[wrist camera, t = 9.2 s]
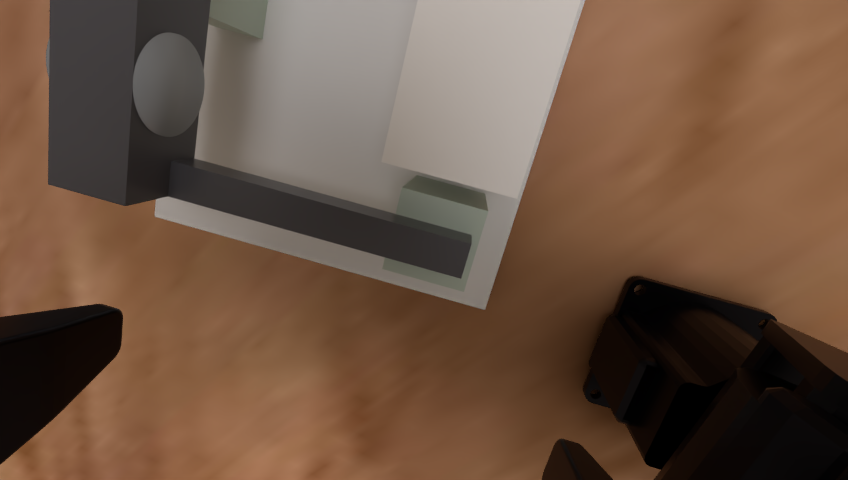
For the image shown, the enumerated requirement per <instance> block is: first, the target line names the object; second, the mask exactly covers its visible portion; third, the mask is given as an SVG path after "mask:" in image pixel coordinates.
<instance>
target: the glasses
mask: <svg viewBox="0 0 848 480" xmlns="http://www.w3.org/2000/svg"><path fill="white" fill-rule="evenodd" d="M210 3H211V0H50V38H49V41H48V45H47V50H46V66H47V72H48V76H49V151H48V184H49V185H53V186H56V187H60V188H63V189H67V190H70V191H74V192H77V193H81V194H84V195H88V196H91V197H95V198H99V199H102V200H106V201H109V202H113V203H116V204H120V205H123V206H128V205H132V204H137V203H141V202H145V201H150V200H154V199H159V198H163V197H171V198H175V199H179V200H182V201H186V202H189V203H193V204H196V205H200V206H204V207H207V208H211V209H214V210H218V211H221V212H225V213H228V214H232V215H236V216H239V217H243V218H246V219H250V220H253V221H257V222H260V223H264V224H268V225H271V226H275V227H278V228H282V229H285V230H289V231H293V232H296V233H300V234H303V235H307V236H310V237H314V238H317V239H321V240H325V241H328V242H332V243H335V244H339V245H342V246H346V247H349V248H353V249H357V250H360V251H364V252H367V253H371V254H374V255H378V256H382V257H385V258H389V259H392V260H396V261H399V262H403V263H406V264H410V265H414V266H417V267H421V268H424V269H428V270H431V271H435V272H438V273H442V274H446V275H449V276H453V277H456V278H460V279H461V278H462V275H463V271H464V268H465V264H466V261H467V258H468V254H469V251H470V248H471V244H472V235H470V234H467V233H463V232H459V231H456V230H452V229H449V228H445V227H441V226H438V225H434V224H430V223H427V222H423V221H420V220H416V219H412V218H409V217H405V216H402V215H398V214H394V213H391V212H387V211H383V210H380V209H376V208H373V207H369V206H365V205H362V204H358V203H354V202H351V201H347V200H344V199H340V198H336V197H333V196H329V195H326V194H322V193H318V192H315V191H311V190H307V189H304V188H300V187H297V186H293V185H289V184H286V183H282V182H279V181H275V180H271V179H268V178H264V177H260V176H257V175H253V174H250V173H246V172H242V171H239V170H235V169H231V168H228V167H224V166H221V165H217V164H213V163H210V162H206V161H203V160H199V159H195V158H194V157H195V148H196V138H197V128H198V119H199V111H200V108H201V105H202V101H203V96H204V87H205V79H204V61H205V51H206V42H207V32H208V22H209V13H210Z"/></svg>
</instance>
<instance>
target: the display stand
mask: <svg viewBox="0 0 848 480" xmlns="http://www.w3.org/2000/svg"><path fill="white" fill-rule="evenodd" d="M584 2H585V0H211V3H210V13H209V22H208V32H207V42H206V51H205V61H204V79H205V87H204V96H203V101H202V105H201V108H200V111H199V119H198V128H197V138H196V148H195V157H194V158H195V159H199V160H203V161H206V162H210V163H213V164H217V165H221V166H224V167H228V168H231V169H235V170H239V171H242V172H246V173H250V174H253V175H257V176H260V177H264V178H268V179H271V180H275V181H279V182H282V183H286V184H289V185H293V186H297V187H300V188H304V189H307V190H311V191H315V192H318V193H322V194H326V195H329V196H333V197H336V198H340V199H344V200H347V201H351V202H354V203H358V204H362V205H365V206H369V207H373V208H376V209H380V210H383V211H387V212H391V213H394V214H398V215H402V216H405V217H409V218H412V219H416V220H420V221H423V222H427V223H430V224H434V225H438V226H441V227H445V228H449V229H452V230H456V231H459V232H463V233H467V234H470V235H472V244H471V248H470V251H469V254H468V258H467V261H466V264H465V268H464V271H463V275H462V278H461V279H460V278H456V277H453V276H449V275H446V274H442V273H438V272H435V271H431V270H428V269H424V268H421V267H417V266H414V265H410V264H406V263H403V262H399V261H396V260H392V259H389V258H385V257H382V256H378V255H374V254H371V253H367V252H364V251H360V250H357V249H353V248H349V247H346V246H342V245H339V244H335V243H332V242H328V241H325V240H321V239H317V238H314V237H310V236H307V235H303V234H300V233H296V232H293V231H289V230H285V229H282V228H278V227H275V226H271V225H268V224H264V223H260V222H257V221H253V220H250V219H246V218H243V217H239V216H236V215H232V214H228V213H225V212H221V211H218V210H214V209H211V208H207V207H204V206H200V205H196V204H193V203H189V202H186V201H182V200H179V199H175V198H171V197H163V198H159V199H156V205H155V217H158V218H162V219H165V220H169V221H172V222H176V223H179V224H183V225H186V226H190V227H193V228H197V229H200V230H204V231H208V232H211V233H215V234H218V235H222V236H225V237H229V238H232V239H236V240H239V241H243V242H246V243H250V244H253V245H257V246H260V247H264V248H268V249H271V250H275V251H278V252H282V253H285V254H289V255H292V256H296V257H299V258H303V259H306V260H310V261H313V262H317V263H320V264H324V265H328V266H331V267H335V268H338V269H342V270H345V271H349V272H352V273H356V274H359V275H363V276H366V277H370V278H373V279H377V280H380V281H384V282H388V283H391V284H395V285H398V286H402V287H405V288H409V289H412V290H416V291H419V292H423V293H426V294H430V295H433V296H437V297H440V298H444V299H448V300H451V301H455V302H458V303H462V304H465V305H469V306H472V307H476V308H479V309H483V310H485V308H486V305H487V302H488V299H489V296H490V293H491V290H492V287H493V284H494V281H495V278H496V274H497V271H498V268H499V265H500V262H501V259H502V256H503V253H504V250H505V247H506V243H507V240H508V237H509V234H510V231H511V228H512V225H513V222H514V219H515V216H516V212H517V209H518V206H519V203H520V200H521V197H522V194H523V191H524V188H525V185H526V182H527V178H528V175H529V172H530V169H531V166H532V163H533V160H534V157H535V154H536V151H537V147H538V144H539V141H540V138H541V135H542V132H543V129H544V126H545V123H546V120H547V116H548V113H549V110H550V107H551V104H552V101H553V98H554V95H555V92H556V89H557V86H558V82H559V79H560V76H561V73H562V70H563V67H564V64H565V61H566V58H567V55H568V51H569V48H570V45H571V42H572V39H573V36H574V33H575V30H576V27H577V24H578V20H579V17H580V14H581V11H582V8H583V5H584Z"/></svg>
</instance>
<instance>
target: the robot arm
mask: <svg viewBox="0 0 848 480" xmlns="http://www.w3.org/2000/svg"><path fill="white" fill-rule="evenodd" d="M637 285H643V289H642V290H641V291H639V292H634V288H635V287H636V286H637ZM763 319H765V322H764V323H763V325H760V326H758V324H759V322H760V321H761V320H763ZM122 325H123V314H122V312H121V311H120V310H119V309H117V308H114V307H110V306H107V305H103V304H94V305H87V306H79V307H72V308H64V309H57V310H49V311H42V312H35V313H27V314H20V315H12V316H5V317H0V464H1V463H3V462H4V461H5V460H6V459H7V458H9V457H10V456H11V455H12V454H13V453H14V452H16V451H17V450H18V449H19V448H20V447H21V446H23V445H24V444H25V443H26V442H27V441H29V440H30V439H31V438H32V437H33V436H34V435H36V434H37V433H38V432H39V431H40V430H41V429H43V428H44V427H45V426H46V425H47V424H48V423H49V422H51V421H52V420H53V419H54V418H55V417H56V416H57V415H58V414H59V413H60V412H61V411H62V410H63V409H64V408H65V407H66V406H67V405H68V404H69V403H70V402H71V401H72V400H73V399H74V398H75V397H76V396H77V395H78V394H79V393H80V392H81V391H82V390H83V389H84V388H85V387H86V386H87V385H88V384H89V383H90V382H91V381H92V380H93V379H94V378H95V377H96V376H97V375H98V374H99V373H100V372H101V371H102V370H103V369H104V368H105V367H106V366H107V365H108V364H109V363H110V362H111V361H112V360H113V359H114V358H115V357H116V355H117V354H118V352H119V350H120V347H121V341H122ZM589 365H590V367H591V369H590V372H589V374H588V376H587V379H586V381H585V384H584V386H583V392H584V395H585V397H586V399H587V400H588V401H589V402H591V403H594V404H598V405H601V406H605V407H608V408H611V410H612V412H613V414H614V416H615V418H616V420H617V421H618V422H620V423H623V424H626V426H627V428H628V430H629V432H630V434H631V436H632V438H633V440H634V442H635V444H636V446H637V448H638V449H639V451H640V453H641V455H642V457H643V459H644V461H645V463H646V464H647V465H649V466H651V467H654V468H657V469H661V471H660V472H659V473H658V475H657V476H656V477H655V479H654V480H848V353H846V352H844V351H842V350H840V349H837V348H835V347H833V346H831V345H828V344H826V343H824V342H822V341H820V340H817V339H815V338H813V337H811V336H808V335H806V334H804V333H802V332H799V331H797V330H795V329H793V328H790V327H788V326H786V325H784V324H781V323H779V322H777V319H776V318H775V317H774V316H773V315H771V314H770V313H768V312H766V311H764V310H760V309H757V308H753V307H749V306H746V305H742V304H739V303H735V302H731V301H728V300H724V299H721V298H717V297H713V296H710V295H706V294H702V293H699V292H695V291H692V290H688V289H684V288H681V287H677V286H673V285H670V284H666V283H663V282H659V281H655V280H652V279H648V278H644V277H640V276H636V277H632V278H631V279H629V280H628V282H627V283H626V285H625V287H624V290H623V292H622V295H621V297H620V299H619V302H618V304H617V307H616V309H615V311H614V314H613V315H611V316H609V317H608V318H607V319H606V321H605V323H604V326H603V328H602V331H601V333H600V336H599V338H598V340H597V343H596V345H595V348H594V350H593V353H592V355H591V357H590V360H589ZM595 389H596V390H599V391H598V392H597V393H595V394H591V393H590V392H591V391H592V390H595ZM542 480H613V479H612V478H611V477H610V476H609V475H608V474H607V472H606V471H605V470H604V469H603V468H602V467H601V466H600V465H599V464H598V463H597V462H596V461H595V459H594V458H593V457H592V456H591V455H590V454H589V453H588V452H587V451H586V450H585V449H584V448H583V446H581V445H580V444H578V443H575V442H572V441H568V440H565V439H559V440H557V442H556V443H555V445H554V447H553V450H552V452H551V455H550V457H549V459H548V462H547V464H546V467H545V469H544V472H543V476H542Z"/></svg>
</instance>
